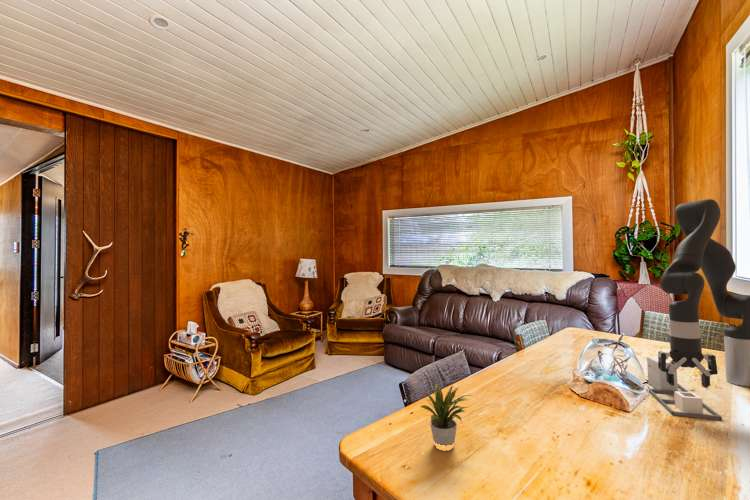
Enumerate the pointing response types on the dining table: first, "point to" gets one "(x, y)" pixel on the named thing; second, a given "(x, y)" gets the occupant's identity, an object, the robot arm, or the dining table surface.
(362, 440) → the dining table surface
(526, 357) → the dining table surface
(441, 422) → the house plant
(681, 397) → the white and grey cube
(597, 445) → the dining table surface
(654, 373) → the small box
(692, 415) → the frame
